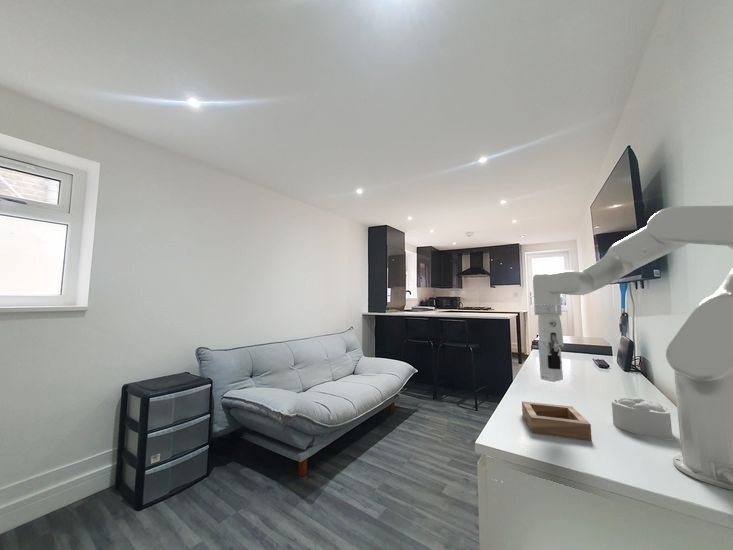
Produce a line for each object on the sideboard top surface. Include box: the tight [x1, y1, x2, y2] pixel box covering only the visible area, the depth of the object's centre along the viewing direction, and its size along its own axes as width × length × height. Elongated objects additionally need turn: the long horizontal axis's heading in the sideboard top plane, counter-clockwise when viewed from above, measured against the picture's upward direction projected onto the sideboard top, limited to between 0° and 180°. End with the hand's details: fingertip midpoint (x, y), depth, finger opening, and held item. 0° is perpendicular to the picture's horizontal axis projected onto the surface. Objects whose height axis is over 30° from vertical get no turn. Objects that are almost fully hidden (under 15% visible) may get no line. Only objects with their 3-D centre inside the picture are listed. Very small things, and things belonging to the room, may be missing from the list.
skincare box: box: [537, 340, 564, 383], centre depth 93 cm, size 6×4×12 cm
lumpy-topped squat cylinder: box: [611, 397, 673, 441], centre depth 89 cm, size 10×13×9 cm
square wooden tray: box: [521, 401, 593, 441], centre depth 91 cm, size 15×15×4 cm
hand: (550, 365), depth 93 cm, fingers closed on skincare box, 7 cm apart
